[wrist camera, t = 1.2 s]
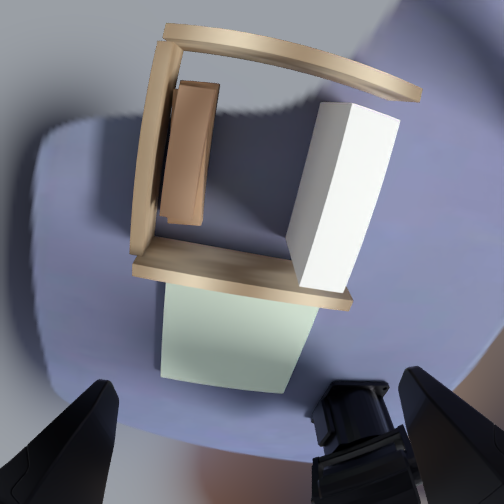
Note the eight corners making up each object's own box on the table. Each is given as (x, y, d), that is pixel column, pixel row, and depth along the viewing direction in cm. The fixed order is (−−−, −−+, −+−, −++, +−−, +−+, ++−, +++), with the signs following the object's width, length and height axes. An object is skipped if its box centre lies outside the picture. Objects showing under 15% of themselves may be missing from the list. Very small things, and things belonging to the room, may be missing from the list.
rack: (390, 89, 17) (422, 88, 13) (333, 278, 23) (348, 311, 19) (173, 37, 15) (156, 22, 12) (142, 244, 21) (124, 274, 17)
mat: (321, 291, 23) (323, 295, 23) (282, 388, 28) (283, 393, 27) (168, 265, 22) (167, 269, 21) (161, 371, 26) (160, 376, 26)
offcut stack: (221, 84, 17) (217, 81, 14) (204, 216, 21) (198, 235, 18) (181, 81, 17) (171, 77, 14) (168, 211, 20) (156, 229, 18)
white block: (356, 113, 18) (400, 120, 12) (319, 244, 22) (343, 293, 16) (320, 102, 17) (352, 102, 12) (285, 237, 21) (299, 286, 16)
